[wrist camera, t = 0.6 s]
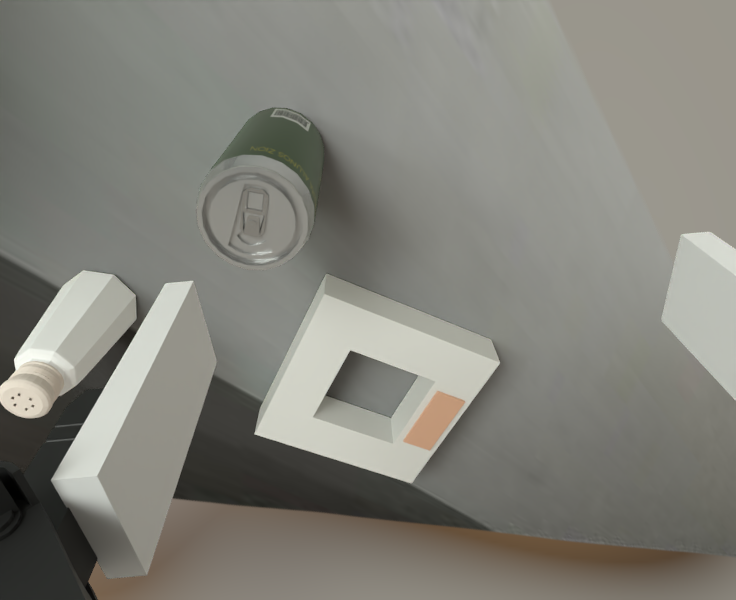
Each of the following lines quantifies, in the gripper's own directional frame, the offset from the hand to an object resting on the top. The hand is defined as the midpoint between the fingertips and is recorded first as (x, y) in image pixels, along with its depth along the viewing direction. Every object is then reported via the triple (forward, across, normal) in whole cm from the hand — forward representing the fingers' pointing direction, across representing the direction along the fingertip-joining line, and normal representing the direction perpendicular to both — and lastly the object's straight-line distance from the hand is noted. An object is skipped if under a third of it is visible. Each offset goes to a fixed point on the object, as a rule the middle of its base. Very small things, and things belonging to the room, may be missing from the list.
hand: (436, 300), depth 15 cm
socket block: (+22, -2, -20) cm, 29 cm away
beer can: (+22, -7, -1) cm, 23 cm away
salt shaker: (+22, -22, -11) cm, 33 cm away
